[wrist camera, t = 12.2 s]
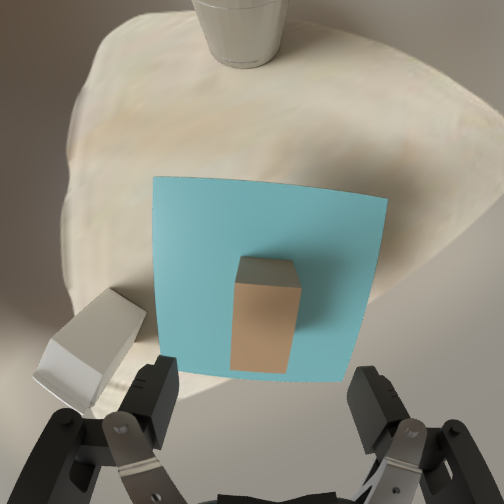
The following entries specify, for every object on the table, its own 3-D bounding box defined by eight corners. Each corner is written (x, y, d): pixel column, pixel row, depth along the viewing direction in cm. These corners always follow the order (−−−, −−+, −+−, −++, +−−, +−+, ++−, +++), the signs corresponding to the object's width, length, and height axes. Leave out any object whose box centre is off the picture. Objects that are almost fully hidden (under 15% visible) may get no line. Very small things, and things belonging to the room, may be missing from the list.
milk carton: (108, 286, 36) (30, 357, 18) (147, 311, 37) (86, 399, 19) (97, 320, 38) (32, 392, 20) (133, 343, 39) (81, 428, 21)
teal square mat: (157, 176, 18) (122, 180, 13) (383, 197, 18) (421, 208, 13) (165, 362, 22) (147, 403, 17) (340, 375, 22) (353, 417, 17)
